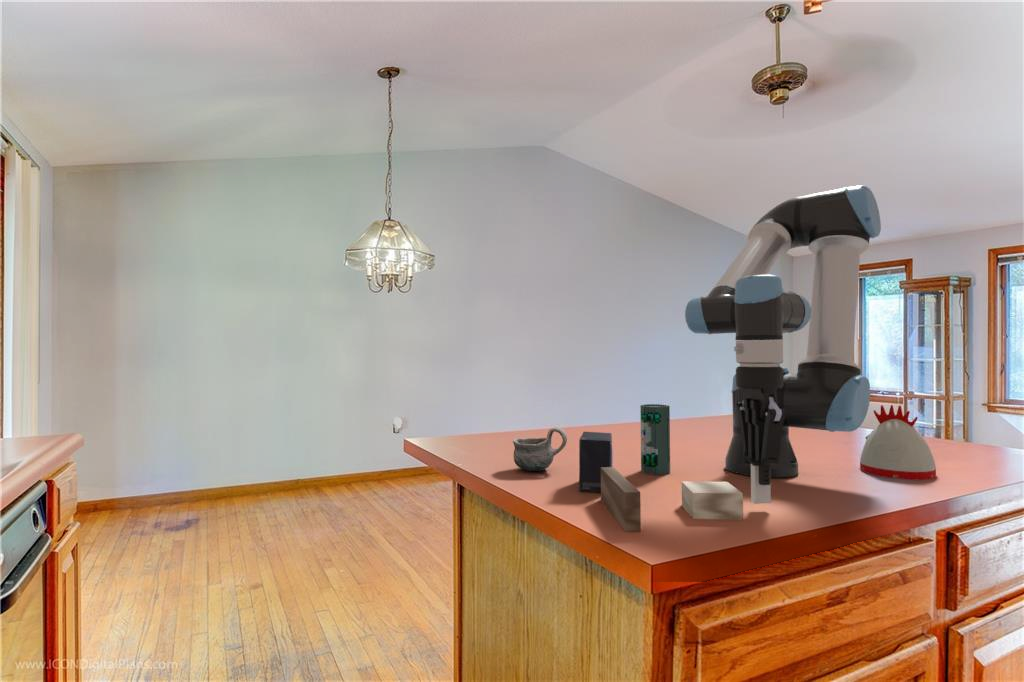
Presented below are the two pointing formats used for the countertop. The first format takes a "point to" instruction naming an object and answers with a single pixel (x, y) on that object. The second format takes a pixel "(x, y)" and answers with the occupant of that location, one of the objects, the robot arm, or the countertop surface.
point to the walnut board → (621, 499)
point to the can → (655, 439)
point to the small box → (593, 459)
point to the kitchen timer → (897, 449)
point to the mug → (537, 451)
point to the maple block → (712, 500)
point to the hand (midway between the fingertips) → (760, 502)
